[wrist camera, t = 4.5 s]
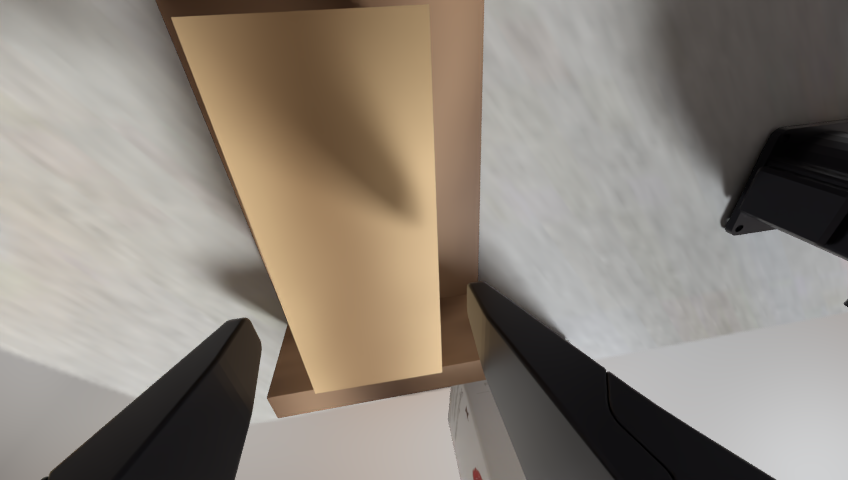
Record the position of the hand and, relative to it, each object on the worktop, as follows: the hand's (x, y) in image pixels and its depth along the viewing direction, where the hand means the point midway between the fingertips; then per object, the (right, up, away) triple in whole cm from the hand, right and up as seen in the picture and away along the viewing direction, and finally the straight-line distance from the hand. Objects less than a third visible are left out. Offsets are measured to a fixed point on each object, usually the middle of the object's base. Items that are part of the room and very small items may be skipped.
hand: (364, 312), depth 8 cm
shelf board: (-1, +3, +4) cm, 5 cm away
